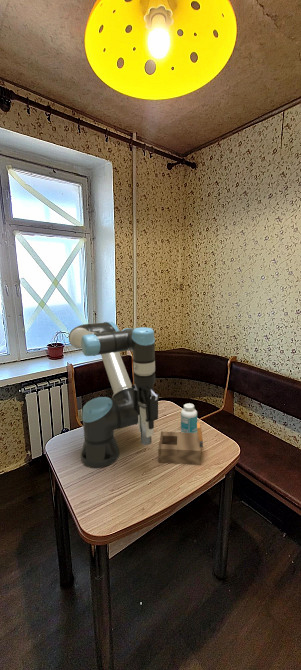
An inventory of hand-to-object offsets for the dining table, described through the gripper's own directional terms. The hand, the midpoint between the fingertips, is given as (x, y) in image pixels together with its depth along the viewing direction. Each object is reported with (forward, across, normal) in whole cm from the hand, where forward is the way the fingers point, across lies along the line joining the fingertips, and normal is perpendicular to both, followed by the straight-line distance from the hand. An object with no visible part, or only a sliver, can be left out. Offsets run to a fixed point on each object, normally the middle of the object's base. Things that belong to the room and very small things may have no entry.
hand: (145, 432), depth 99 cm
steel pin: (+4, 0, 0) cm, 4 cm away
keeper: (+5, +7, +21) cm, 22 cm away
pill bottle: (+15, -7, +30) cm, 34 cm away
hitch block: (+15, +2, +16) cm, 22 cm away
